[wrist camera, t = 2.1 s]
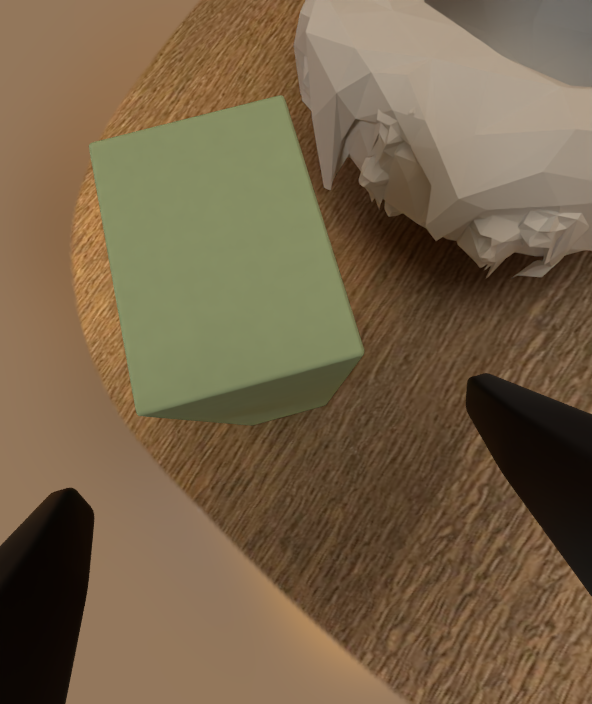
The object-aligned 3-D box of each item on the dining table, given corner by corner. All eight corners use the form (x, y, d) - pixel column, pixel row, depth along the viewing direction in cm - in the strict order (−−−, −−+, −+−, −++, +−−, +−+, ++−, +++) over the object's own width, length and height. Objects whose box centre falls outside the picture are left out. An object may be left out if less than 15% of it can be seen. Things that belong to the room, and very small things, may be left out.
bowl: (418, -48, 25) (490, -358, 15) (716, 99, 22) (1046, -168, 12) (225, 180, 22) (159, -24, 12) (541, 385, 19) (795, 337, 9)
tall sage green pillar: (298, 305, 20) (283, 91, 7) (326, 405, 19) (366, 353, 6) (226, 324, 20) (85, 141, 7) (250, 426, 19) (134, 417, 6)
